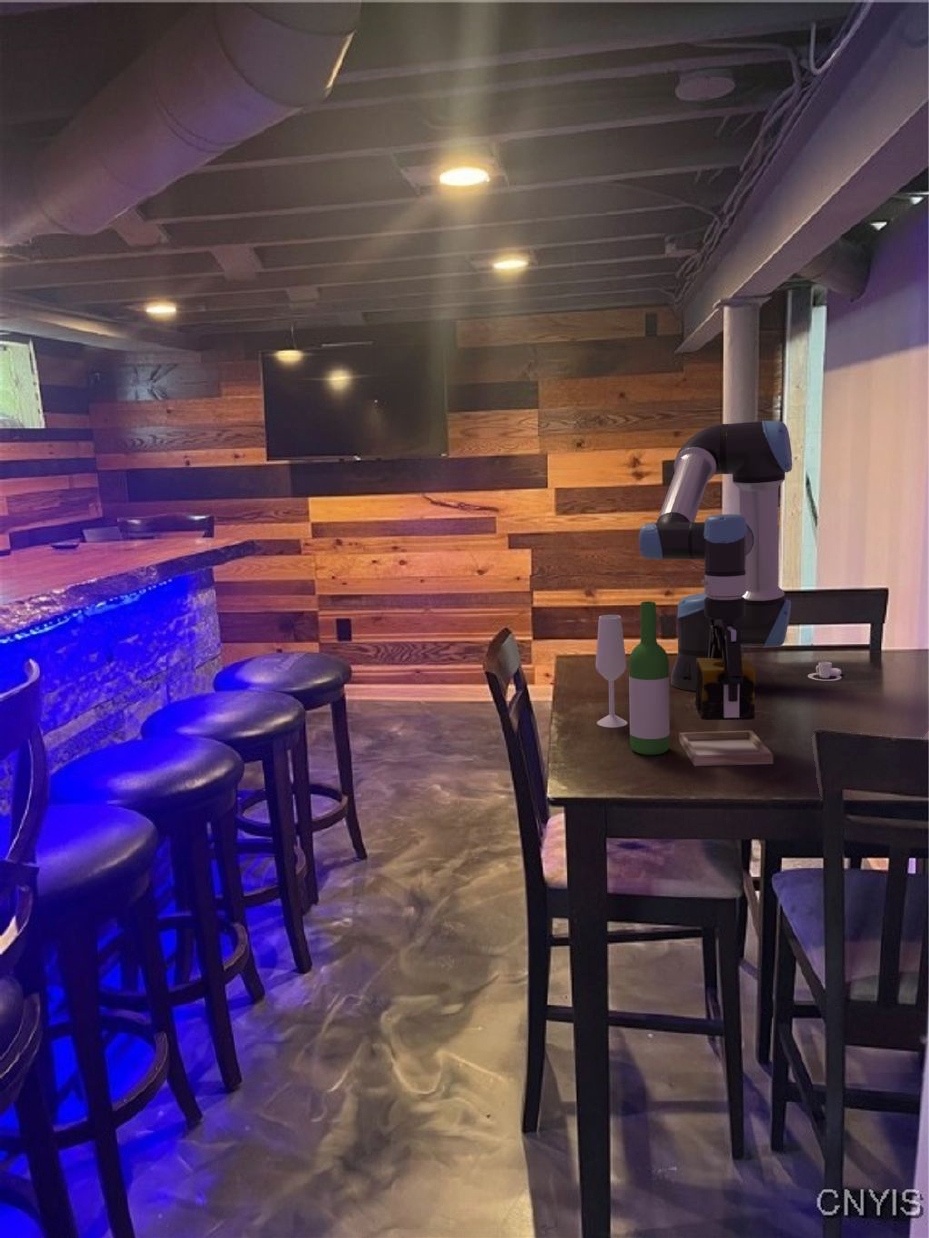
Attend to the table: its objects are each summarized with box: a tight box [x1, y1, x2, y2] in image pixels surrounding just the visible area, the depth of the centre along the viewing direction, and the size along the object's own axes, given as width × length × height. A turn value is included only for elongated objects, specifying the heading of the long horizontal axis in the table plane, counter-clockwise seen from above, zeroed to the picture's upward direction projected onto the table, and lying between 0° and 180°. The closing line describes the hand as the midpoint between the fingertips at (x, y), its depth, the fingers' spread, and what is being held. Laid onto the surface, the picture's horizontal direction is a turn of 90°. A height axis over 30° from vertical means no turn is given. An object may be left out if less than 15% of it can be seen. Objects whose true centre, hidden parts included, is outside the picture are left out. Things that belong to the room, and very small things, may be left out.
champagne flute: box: [595, 614, 628, 728], centre depth 186 cm, size 7×7×24 cm
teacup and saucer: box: [807, 661, 842, 682], centre depth 217 cm, size 9×8×4 cm
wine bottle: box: [628, 601, 671, 756], centre depth 167 cm, size 8×8×30 cm
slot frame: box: [678, 730, 774, 767], centre depth 166 cm, size 15×15×2 cm
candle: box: [694, 657, 757, 721], centre depth 164 cm, size 10×10×10 cm
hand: (724, 708), depth 165 cm, fingers closed on candle, 10 cm apart
